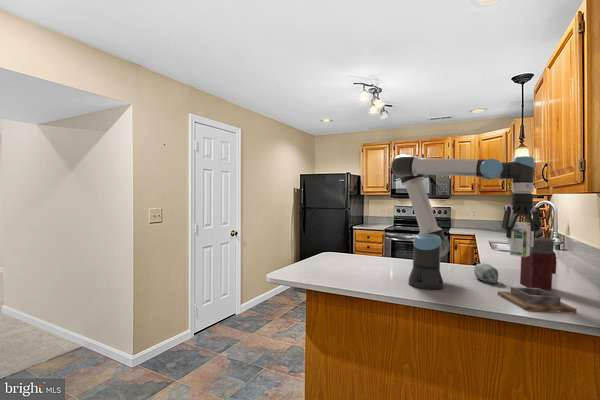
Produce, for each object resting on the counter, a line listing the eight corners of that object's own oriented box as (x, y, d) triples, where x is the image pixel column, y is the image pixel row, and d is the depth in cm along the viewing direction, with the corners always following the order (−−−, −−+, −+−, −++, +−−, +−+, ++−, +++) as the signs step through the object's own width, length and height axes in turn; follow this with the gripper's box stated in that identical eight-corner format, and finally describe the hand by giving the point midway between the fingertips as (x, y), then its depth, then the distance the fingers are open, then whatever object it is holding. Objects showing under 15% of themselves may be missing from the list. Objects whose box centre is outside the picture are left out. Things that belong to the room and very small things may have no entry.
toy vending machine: (557, 290, 141) (560, 229, 141) (530, 289, 143) (533, 228, 142) (544, 285, 150) (547, 227, 150) (519, 283, 152) (522, 226, 151)
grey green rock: (506, 278, 147) (494, 259, 150) (487, 286, 148) (475, 267, 151) (495, 278, 160) (484, 260, 163) (477, 285, 161) (467, 267, 164)
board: (525, 310, 115) (526, 298, 115) (497, 294, 133) (498, 284, 133) (576, 312, 114) (576, 300, 114) (541, 296, 132) (541, 286, 132)
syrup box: (509, 255, 134) (510, 221, 133) (514, 253, 137) (515, 221, 137) (525, 257, 129) (526, 222, 129) (530, 256, 133) (531, 222, 132)
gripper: (503, 192, 129) (501, 246, 130) (553, 193, 129) (551, 248, 129) (492, 192, 137) (490, 243, 137) (540, 193, 136) (537, 245, 137)
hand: (520, 245), depth 133 cm, fingers closed on syrup box, 8 cm apart
